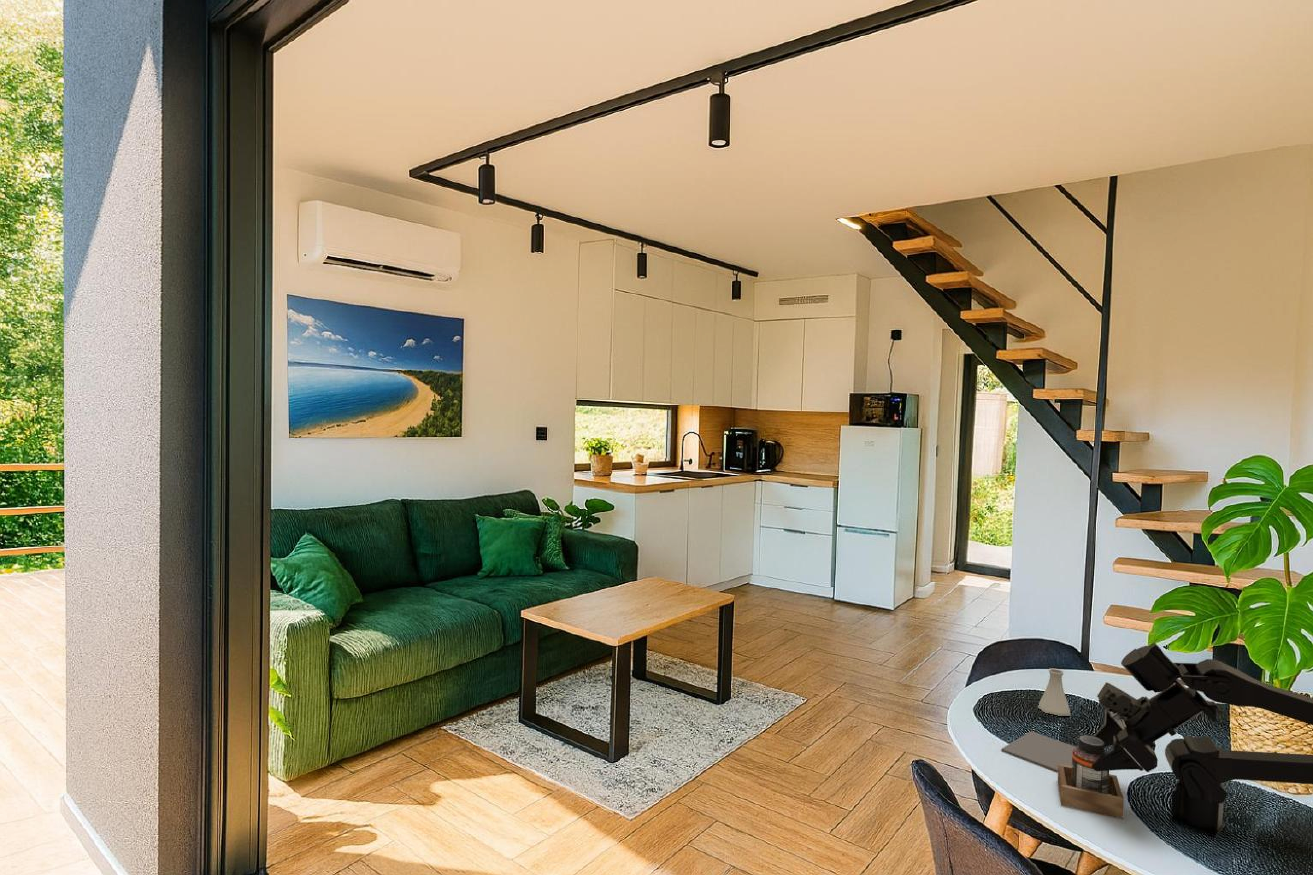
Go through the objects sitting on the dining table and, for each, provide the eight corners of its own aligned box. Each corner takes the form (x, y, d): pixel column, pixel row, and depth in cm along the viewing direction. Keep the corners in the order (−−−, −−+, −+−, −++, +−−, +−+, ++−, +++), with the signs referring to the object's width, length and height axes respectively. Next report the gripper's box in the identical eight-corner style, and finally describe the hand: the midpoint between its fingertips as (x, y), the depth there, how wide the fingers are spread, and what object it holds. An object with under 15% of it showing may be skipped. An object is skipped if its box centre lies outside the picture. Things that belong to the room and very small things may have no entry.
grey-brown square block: (1100, 757, 152) (1100, 755, 152) (1072, 778, 143) (1073, 775, 143) (1030, 733, 163) (1031, 731, 163) (1001, 750, 154) (1001, 748, 154)
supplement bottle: (1073, 787, 140) (1076, 729, 139) (1109, 798, 136) (1113, 739, 135) (1067, 800, 135) (1070, 739, 134) (1104, 812, 131) (1108, 750, 131)
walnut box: (1115, 793, 138) (1116, 775, 138) (1122, 819, 129) (1124, 799, 129) (1057, 781, 142) (1058, 763, 142) (1060, 805, 133) (1061, 786, 133)
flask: (1075, 719, 171) (1078, 677, 170) (1042, 716, 172) (1044, 674, 172) (1065, 707, 178) (1067, 666, 178) (1033, 704, 179) (1035, 663, 179)
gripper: (1122, 658, 140) (1054, 702, 146) (1138, 691, 124) (1060, 740, 129) (1169, 706, 137) (1098, 750, 143) (1192, 747, 121) (1110, 795, 126)
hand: (1090, 757), depth 135 cm, fingers open, 9 cm apart
